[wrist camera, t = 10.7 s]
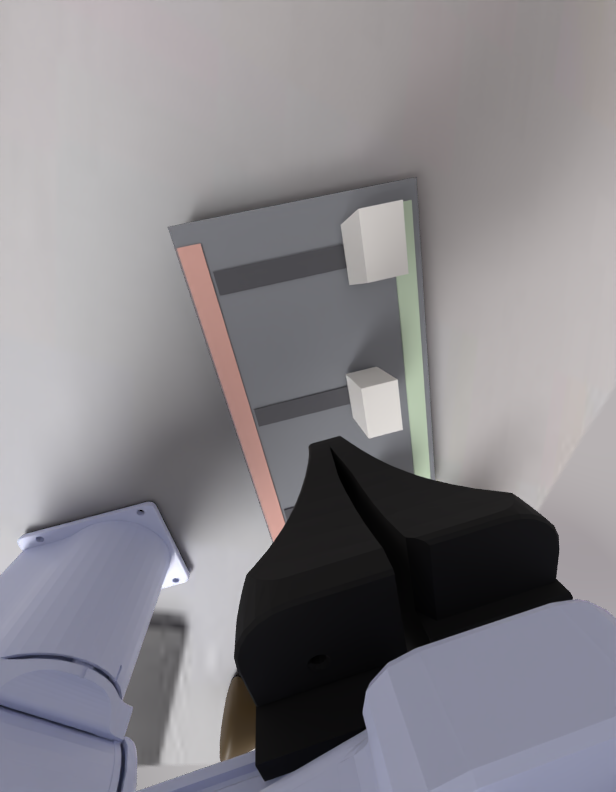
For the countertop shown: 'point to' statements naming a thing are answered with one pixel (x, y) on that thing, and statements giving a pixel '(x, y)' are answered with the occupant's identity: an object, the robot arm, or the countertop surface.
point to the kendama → (237, 722)
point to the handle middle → (375, 401)
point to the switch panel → (307, 334)
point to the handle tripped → (375, 243)
